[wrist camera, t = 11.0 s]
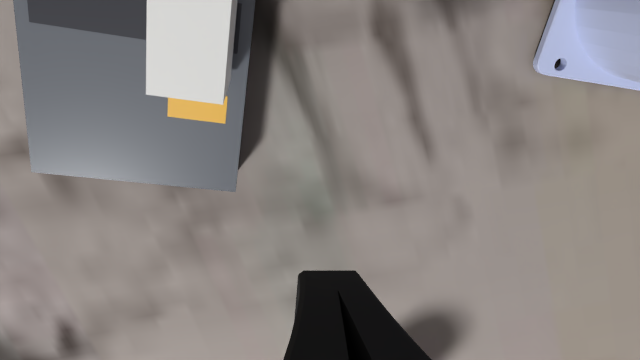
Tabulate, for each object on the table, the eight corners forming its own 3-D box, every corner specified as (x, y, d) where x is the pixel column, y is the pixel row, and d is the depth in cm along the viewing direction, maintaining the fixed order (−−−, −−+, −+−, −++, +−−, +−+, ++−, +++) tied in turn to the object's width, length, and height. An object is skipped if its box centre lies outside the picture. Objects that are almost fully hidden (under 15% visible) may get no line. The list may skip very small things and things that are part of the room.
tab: (239, -24, 13) (233, -24, 11) (230, 79, 15) (222, 104, 12) (172, -37, 13) (147, -40, 10) (168, 70, 14) (145, 94, 12)
